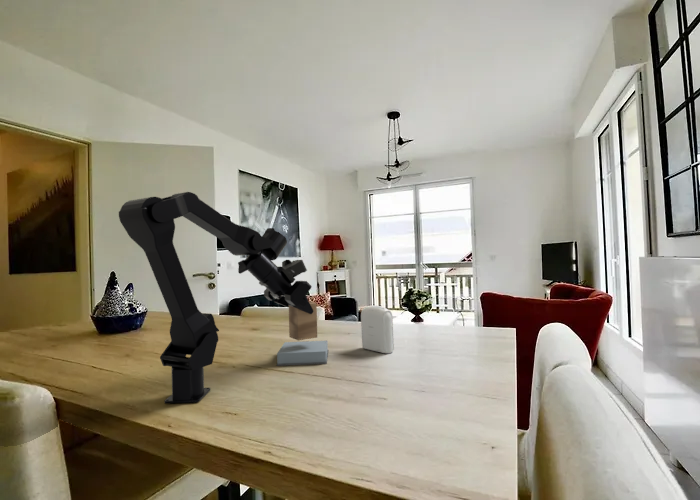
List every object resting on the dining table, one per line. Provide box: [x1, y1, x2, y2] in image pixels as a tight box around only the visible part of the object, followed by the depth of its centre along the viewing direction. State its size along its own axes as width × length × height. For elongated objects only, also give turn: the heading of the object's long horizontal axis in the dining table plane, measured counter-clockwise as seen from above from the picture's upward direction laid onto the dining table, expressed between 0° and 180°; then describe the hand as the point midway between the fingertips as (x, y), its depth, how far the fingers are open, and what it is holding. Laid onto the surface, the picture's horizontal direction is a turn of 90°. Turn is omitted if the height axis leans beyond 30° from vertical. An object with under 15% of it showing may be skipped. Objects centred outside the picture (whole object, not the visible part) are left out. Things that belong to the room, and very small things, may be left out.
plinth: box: [276, 340, 329, 367], centre depth 97 cm, size 12×12×3 cm
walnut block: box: [288, 301, 318, 341], centre depth 97 cm, size 6×6×9 cm
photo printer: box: [360, 305, 395, 354], centre depth 102 cm, size 10×4×12 cm, turn 39°
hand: (307, 311), depth 97 cm, fingers closed on walnut block, 5 cm apart
